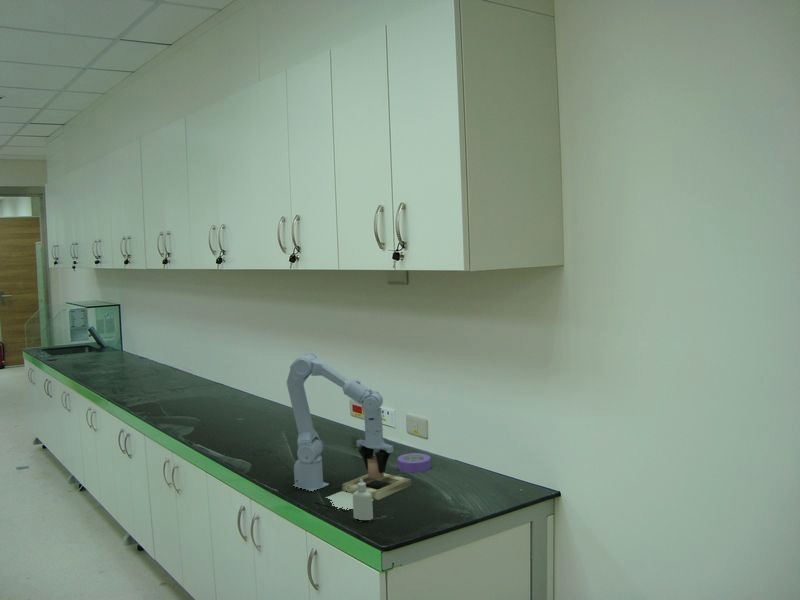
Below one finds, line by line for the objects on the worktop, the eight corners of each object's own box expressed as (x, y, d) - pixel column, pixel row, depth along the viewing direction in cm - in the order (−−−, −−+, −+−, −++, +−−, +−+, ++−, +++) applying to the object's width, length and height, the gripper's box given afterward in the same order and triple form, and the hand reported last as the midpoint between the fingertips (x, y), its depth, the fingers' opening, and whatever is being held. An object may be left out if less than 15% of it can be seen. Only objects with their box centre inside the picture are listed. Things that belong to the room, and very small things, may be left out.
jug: (364, 476, 229) (363, 458, 228) (378, 471, 234) (377, 453, 233) (376, 479, 225) (375, 461, 225) (390, 474, 230) (389, 456, 230)
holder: (342, 490, 228) (341, 484, 228) (375, 476, 240) (375, 471, 240) (378, 500, 218) (377, 493, 218) (411, 485, 230) (410, 479, 230)
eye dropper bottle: (364, 514, 206) (362, 474, 206) (375, 520, 202) (373, 479, 201) (352, 518, 204) (349, 478, 203) (362, 524, 199) (359, 483, 198)
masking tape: (434, 463, 253) (433, 453, 252) (426, 474, 241) (426, 463, 241) (402, 462, 256) (402, 452, 255) (394, 472, 245) (393, 462, 244)
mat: (314, 503, 218) (314, 502, 218) (342, 491, 227) (342, 490, 227) (346, 512, 209) (346, 511, 209) (373, 500, 218) (373, 499, 218)
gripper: (398, 430, 226) (400, 471, 227) (366, 424, 236) (368, 463, 237) (384, 435, 221) (386, 477, 222) (351, 428, 230) (353, 469, 231)
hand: (375, 470), depth 229 cm, fingers closed on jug, 5 cm apart
